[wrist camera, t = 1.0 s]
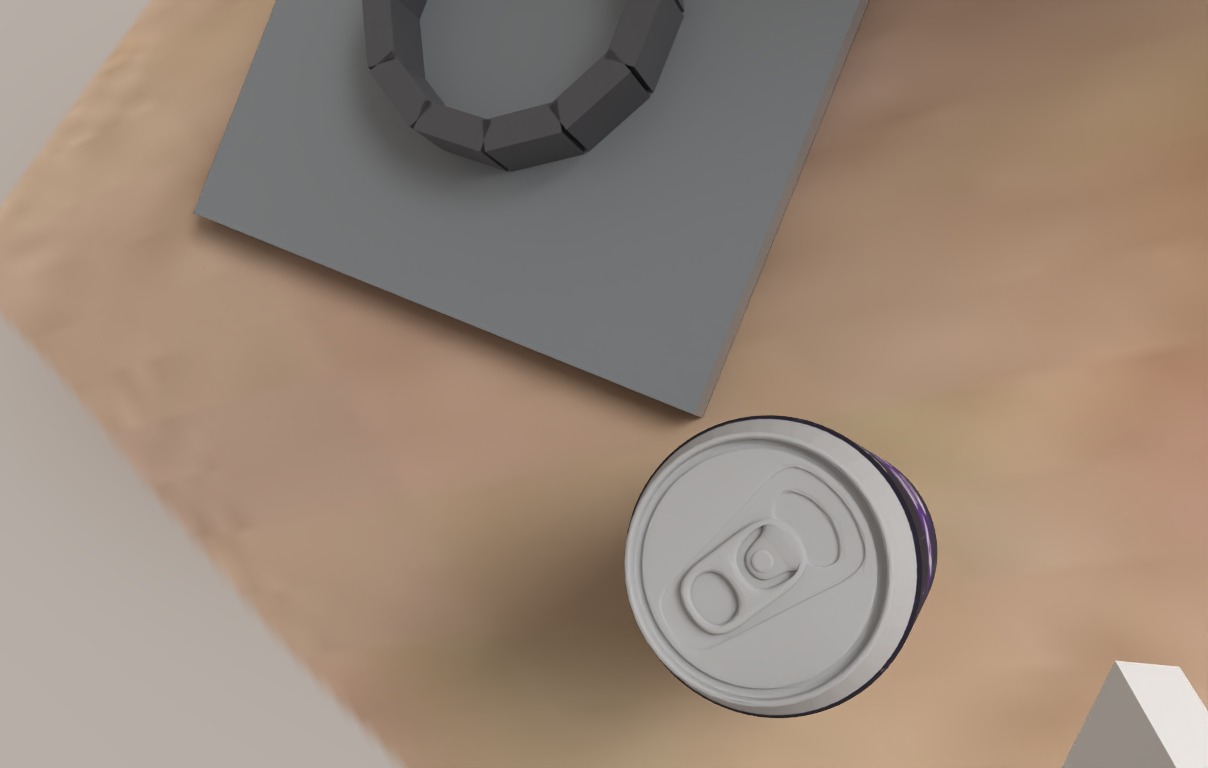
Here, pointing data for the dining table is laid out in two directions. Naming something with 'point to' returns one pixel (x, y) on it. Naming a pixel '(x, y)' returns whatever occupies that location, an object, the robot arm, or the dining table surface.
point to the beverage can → (777, 565)
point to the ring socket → (540, 163)
